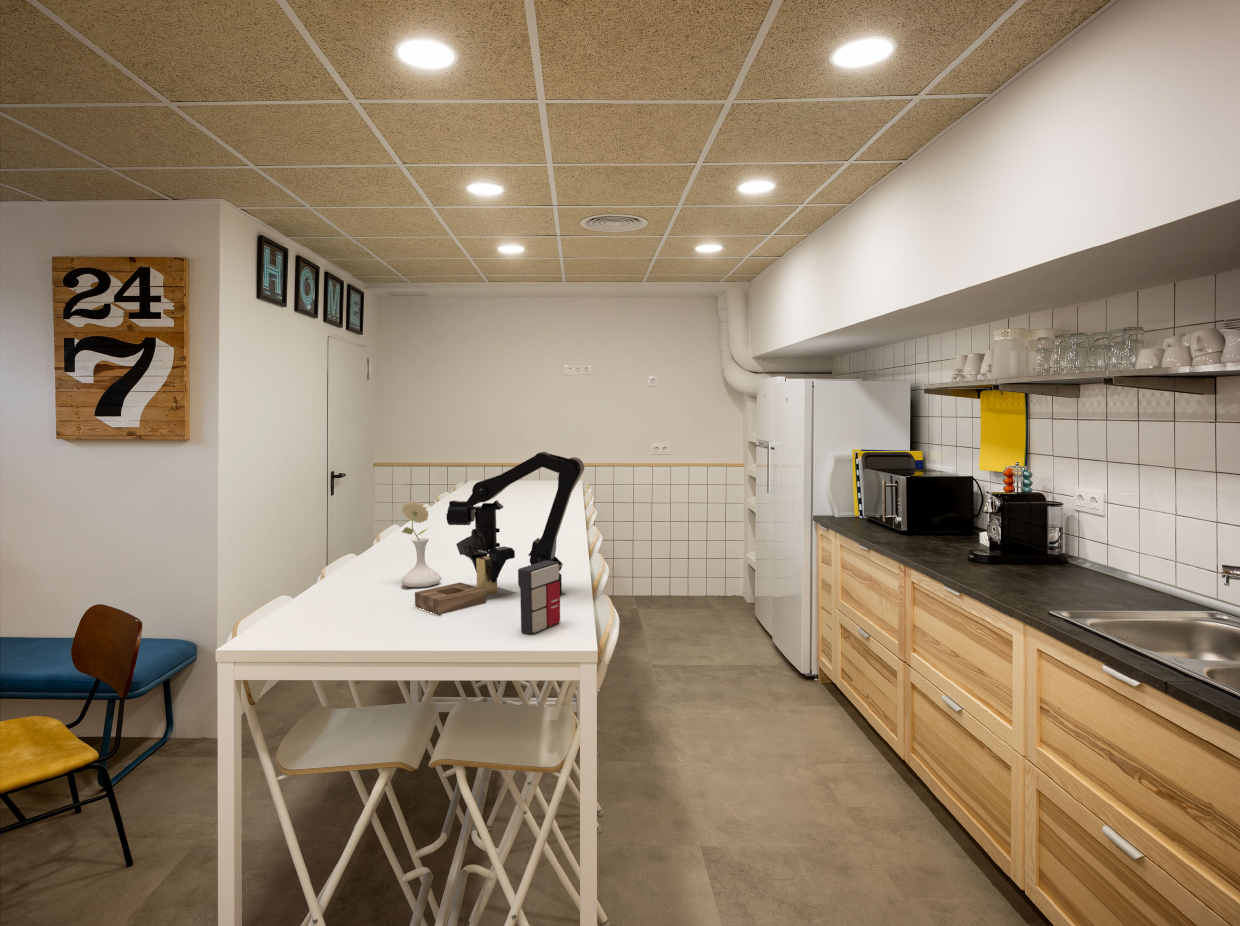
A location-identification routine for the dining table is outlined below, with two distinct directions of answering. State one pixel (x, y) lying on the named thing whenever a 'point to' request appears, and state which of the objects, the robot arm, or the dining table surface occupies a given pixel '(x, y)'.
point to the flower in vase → (418, 550)
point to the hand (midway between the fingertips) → (487, 580)
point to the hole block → (449, 598)
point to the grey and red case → (539, 596)
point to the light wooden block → (485, 576)
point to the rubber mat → (499, 593)
